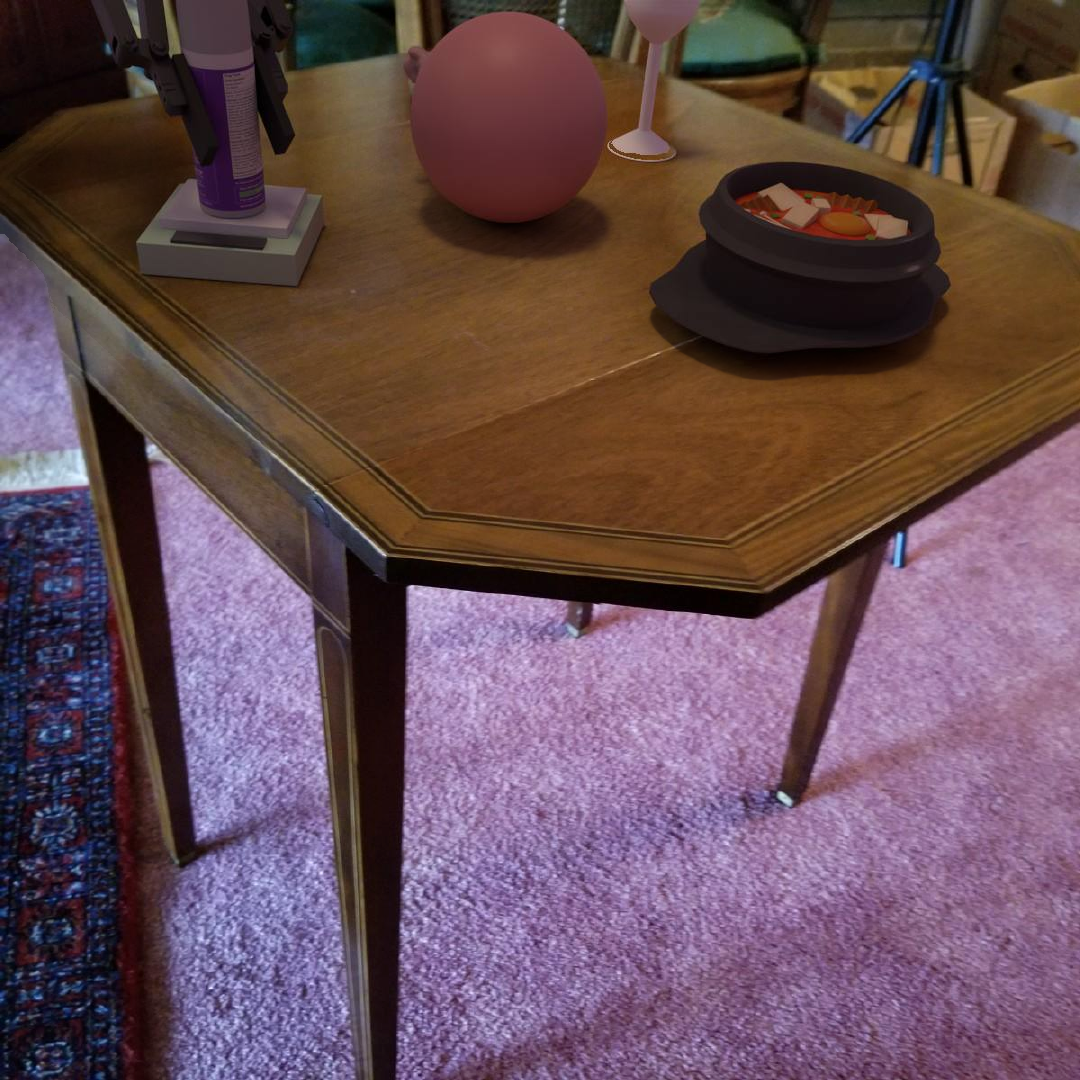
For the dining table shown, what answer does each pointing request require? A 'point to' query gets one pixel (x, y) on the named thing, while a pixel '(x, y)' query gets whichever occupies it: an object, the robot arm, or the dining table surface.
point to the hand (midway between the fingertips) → (248, 150)
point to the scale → (233, 238)
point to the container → (225, 103)
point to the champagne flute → (653, 67)
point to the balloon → (507, 116)
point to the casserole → (807, 262)
